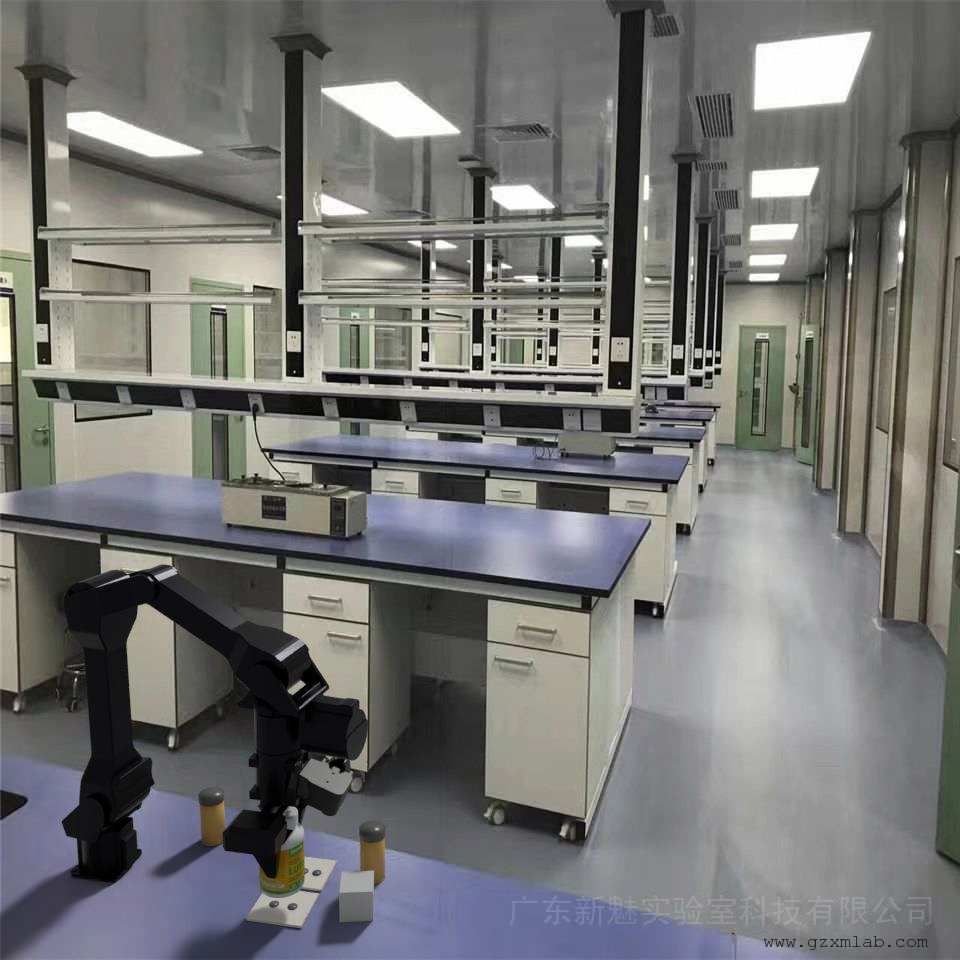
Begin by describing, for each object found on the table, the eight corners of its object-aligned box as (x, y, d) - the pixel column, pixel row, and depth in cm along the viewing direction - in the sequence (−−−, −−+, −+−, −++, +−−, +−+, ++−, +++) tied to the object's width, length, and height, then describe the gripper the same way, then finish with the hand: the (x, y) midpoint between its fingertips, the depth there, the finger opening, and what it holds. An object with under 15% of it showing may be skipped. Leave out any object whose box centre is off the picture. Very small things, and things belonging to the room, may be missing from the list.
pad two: (246, 920, 100) (246, 917, 100) (266, 888, 106) (266, 885, 106) (301, 928, 99) (301, 925, 99) (319, 895, 105) (319, 892, 105)
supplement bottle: (293, 903, 99) (292, 828, 97) (251, 895, 100) (250, 822, 99) (311, 874, 104) (310, 803, 103) (271, 868, 105) (270, 797, 104)
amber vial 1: (196, 845, 115) (193, 798, 114) (207, 831, 118) (205, 785, 117) (219, 847, 114) (217, 800, 113) (230, 833, 118) (228, 787, 117)
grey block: (339, 922, 101) (339, 892, 100) (341, 900, 104) (341, 871, 104) (372, 921, 101) (372, 891, 100) (374, 899, 105) (374, 870, 104)
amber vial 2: (355, 883, 108) (355, 833, 106) (363, 867, 111) (363, 819, 110) (381, 886, 107) (381, 837, 106) (388, 870, 110) (388, 822, 109)
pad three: (269, 884, 107) (269, 881, 107) (287, 856, 113) (287, 853, 113) (321, 891, 106) (321, 888, 106) (337, 862, 112) (337, 860, 112)
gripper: (316, 792, 89) (317, 924, 91) (368, 716, 107) (367, 827, 110) (218, 781, 91) (222, 910, 93) (285, 707, 109) (287, 817, 111)
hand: (281, 862), depth 102 cm, fingers closed on supplement bottle, 5 cm apart
